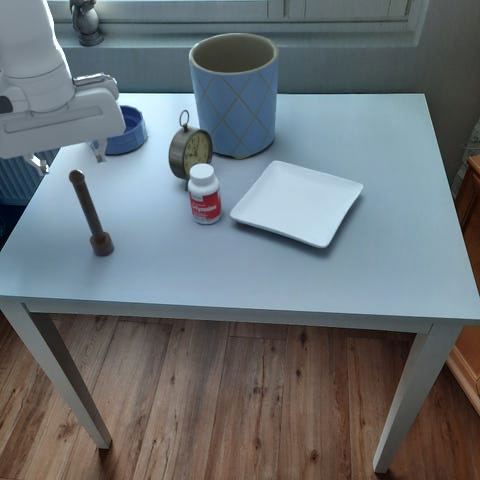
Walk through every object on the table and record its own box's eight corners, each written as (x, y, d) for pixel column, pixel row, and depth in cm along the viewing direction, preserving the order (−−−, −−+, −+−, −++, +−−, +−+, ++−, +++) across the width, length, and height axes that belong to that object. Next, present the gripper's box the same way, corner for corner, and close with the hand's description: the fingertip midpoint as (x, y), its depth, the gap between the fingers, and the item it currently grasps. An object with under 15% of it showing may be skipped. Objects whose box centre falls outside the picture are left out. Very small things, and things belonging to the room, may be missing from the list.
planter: (183, 142, 115) (169, 56, 99) (235, 109, 123) (231, 25, 107) (240, 172, 107) (236, 84, 91) (293, 134, 115) (297, 48, 99)
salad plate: (273, 170, 107) (273, 157, 104) (363, 196, 100) (365, 182, 97) (227, 227, 96) (226, 214, 93) (325, 260, 89) (326, 247, 86)
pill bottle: (190, 225, 97) (183, 180, 88) (194, 205, 100) (188, 160, 92) (220, 225, 96) (215, 180, 87) (223, 206, 100) (219, 161, 91)
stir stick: (95, 258, 92) (63, 180, 77) (93, 245, 94) (61, 166, 80) (115, 253, 93) (87, 175, 78) (112, 240, 95) (85, 161, 80)
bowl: (93, 161, 112) (86, 142, 108) (87, 130, 120) (81, 111, 116) (152, 149, 114) (147, 130, 110) (142, 119, 122) (138, 100, 118)
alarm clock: (189, 196, 102) (178, 127, 89) (169, 189, 104) (155, 120, 91) (216, 169, 108) (210, 100, 95) (197, 163, 110) (188, 94, 97)
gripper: (110, 60, 70) (132, 143, 81) (-31, 87, 68) (12, 169, 79) (116, 80, 67) (138, 164, 78) (-33, 108, 64) (12, 191, 75)
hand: (73, 166), depth 78 cm, fingers open, 8 cm apart
